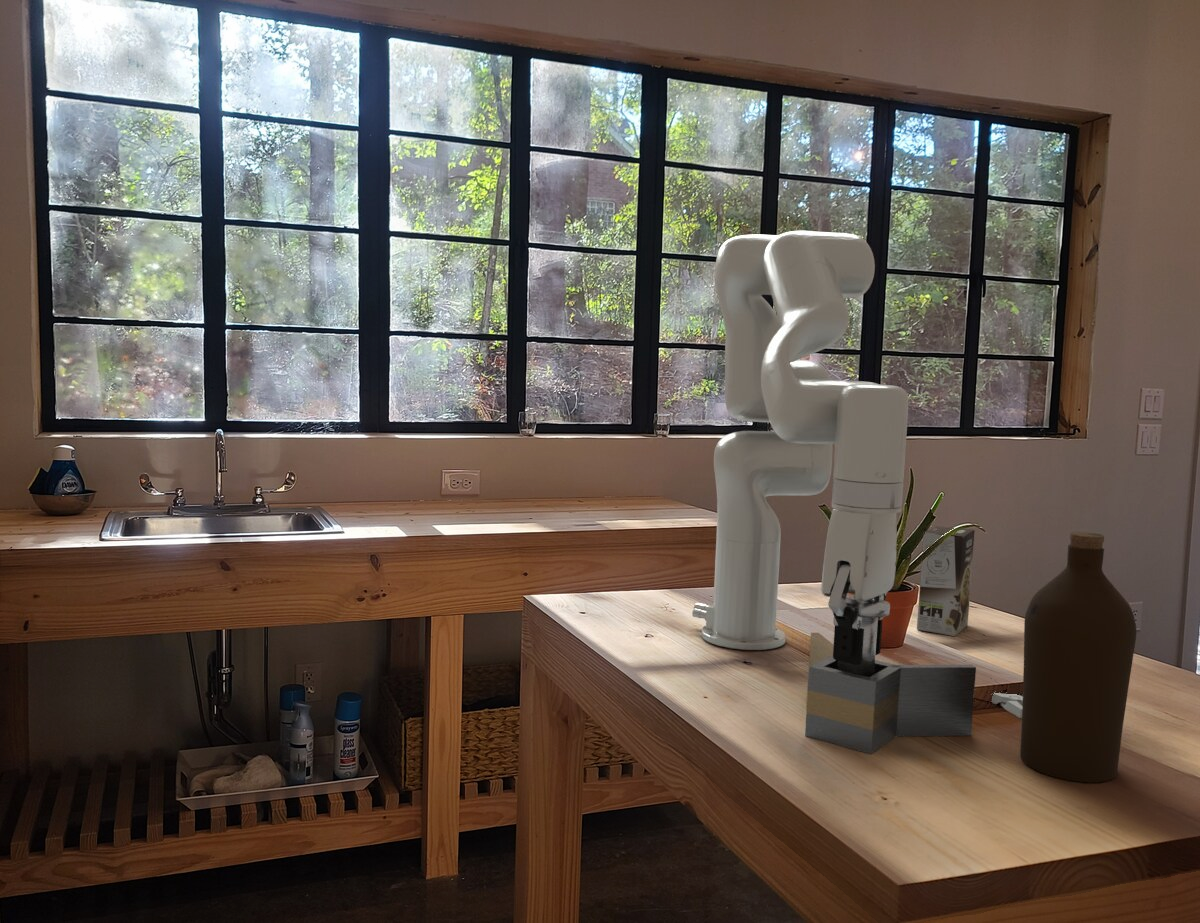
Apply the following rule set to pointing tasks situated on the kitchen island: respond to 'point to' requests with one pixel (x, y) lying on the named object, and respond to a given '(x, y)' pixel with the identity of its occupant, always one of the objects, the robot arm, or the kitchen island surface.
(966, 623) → the coffee box
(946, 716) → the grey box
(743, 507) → the robot arm
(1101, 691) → the olive oil
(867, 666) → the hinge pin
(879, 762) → the kitchen island surface
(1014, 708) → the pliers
